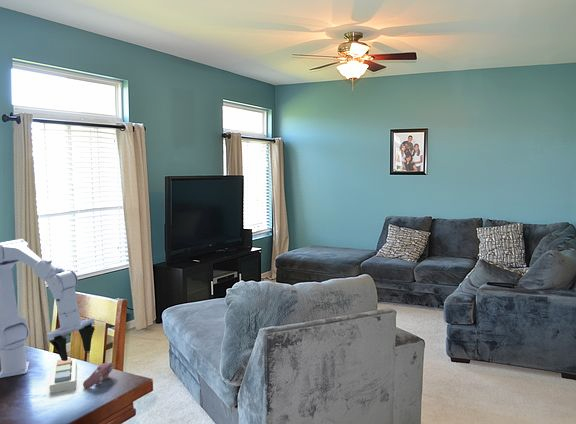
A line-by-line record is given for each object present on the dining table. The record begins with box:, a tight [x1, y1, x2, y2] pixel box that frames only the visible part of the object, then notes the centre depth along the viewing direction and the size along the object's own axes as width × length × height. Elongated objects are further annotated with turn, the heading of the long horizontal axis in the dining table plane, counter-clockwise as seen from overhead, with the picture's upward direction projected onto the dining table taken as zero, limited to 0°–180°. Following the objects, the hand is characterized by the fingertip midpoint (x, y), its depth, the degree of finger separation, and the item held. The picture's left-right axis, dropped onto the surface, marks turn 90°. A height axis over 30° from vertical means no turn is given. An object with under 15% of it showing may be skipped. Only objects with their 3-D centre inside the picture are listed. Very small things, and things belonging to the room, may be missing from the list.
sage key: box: [56, 364, 71, 373], centre depth 156 cm, size 4×4×2 cm
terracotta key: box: [56, 357, 72, 366], centre depth 161 cm, size 4×4×2 cm
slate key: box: [55, 371, 70, 383], centre depth 151 cm, size 4×4×2 cm
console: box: [49, 358, 78, 394], centre depth 157 cm, size 18×7×2 cm, turn 22°
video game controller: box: [82, 361, 115, 389], centre depth 153 cm, size 10×5×7 cm, turn 169°
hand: (76, 355), depth 149 cm, fingers open, 7 cm apart
